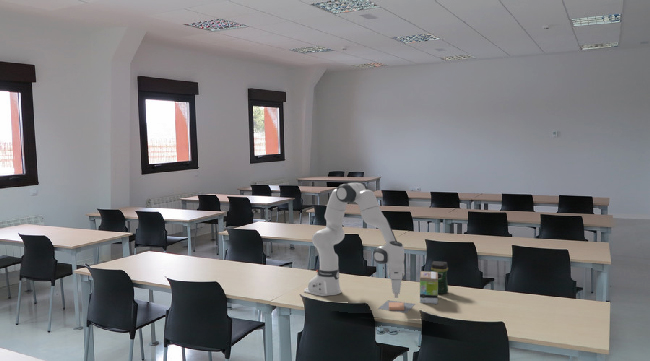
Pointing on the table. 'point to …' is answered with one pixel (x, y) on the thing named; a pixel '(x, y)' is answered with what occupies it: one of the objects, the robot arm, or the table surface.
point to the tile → (396, 306)
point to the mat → (406, 308)
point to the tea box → (428, 287)
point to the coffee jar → (441, 275)
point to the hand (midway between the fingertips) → (396, 297)
